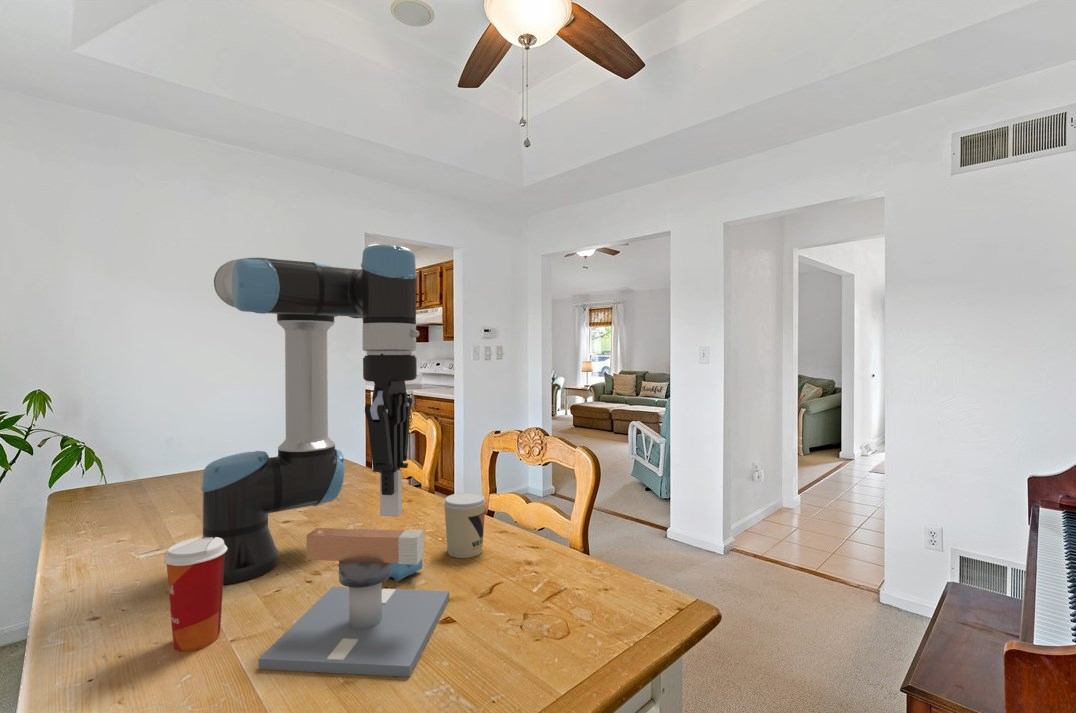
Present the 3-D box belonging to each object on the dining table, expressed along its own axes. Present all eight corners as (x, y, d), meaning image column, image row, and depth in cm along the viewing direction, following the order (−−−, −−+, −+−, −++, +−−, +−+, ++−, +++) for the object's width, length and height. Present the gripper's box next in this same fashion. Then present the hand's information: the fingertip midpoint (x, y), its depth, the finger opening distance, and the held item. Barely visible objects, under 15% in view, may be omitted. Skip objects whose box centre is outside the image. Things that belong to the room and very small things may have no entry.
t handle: (298, 585, 79) (298, 540, 79) (324, 563, 87) (323, 522, 87) (412, 589, 78) (412, 543, 78) (427, 567, 86) (427, 525, 85)
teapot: (434, 576, 102) (434, 539, 102) (412, 589, 97) (412, 549, 97) (392, 563, 108) (392, 528, 108) (369, 574, 103) (369, 537, 103)
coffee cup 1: (185, 627, 83) (184, 536, 83) (238, 624, 84) (237, 534, 84) (150, 658, 75) (149, 557, 75) (209, 655, 76) (208, 555, 75)
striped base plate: (258, 669, 72) (258, 609, 72) (332, 594, 94) (332, 549, 94) (409, 677, 71) (409, 616, 70) (449, 599, 93) (449, 552, 92)
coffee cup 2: (478, 561, 109) (478, 505, 109) (437, 557, 111) (437, 503, 111) (490, 544, 118) (490, 493, 118) (452, 541, 120) (452, 491, 120)
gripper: (399, 353, 67) (400, 530, 68) (428, 353, 80) (429, 502, 81) (344, 353, 68) (346, 529, 68) (382, 353, 81) (383, 501, 81)
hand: (391, 514), depth 74 cm, fingers closed
